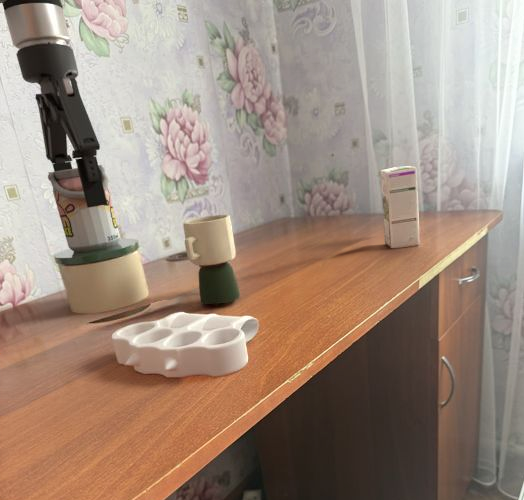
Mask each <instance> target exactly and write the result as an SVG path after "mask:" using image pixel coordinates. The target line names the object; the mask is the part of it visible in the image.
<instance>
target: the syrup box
mask: <svg viewBox="0 0 524 500" xmlns="http://www.w3.org/2000/svg"><path fill="white" fill-rule="evenodd" d="M380 178H381V179H380V181H381V182H380V183H381V198H382V199H381V200H382V215H383V217H382V218H383V232H384V244H385V245H387V246H388V247H389V248H390V249H401V248H408V247H415V246H419V245H420V217H419V192H418V168H417V167H416V166H410V165H404V166H403V165H402V166H394V167H390V168H386V169H381V170H380Z"/></svg>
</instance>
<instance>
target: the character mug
mask: <svg viewBox="0 0 524 500" xmlns="http://www.w3.org/2000/svg"><path fill="white" fill-rule="evenodd" d="M182 225H183V226H182V228H183V232H184V246H185V251H186V256H187V259H188V260H189V261H190V262H191V263H192V264H193V265H195V266H198V267H199V270H198V289H199V291H198V292H199V301H200V304H202V305H207V304H212V305H213V306H218V304H223V303H225V304H226V303H230V302H234V301H237V300H238V299H239V298H240V297H241V292H240V288H239V284H238V281H237V278H236V275H235V272H234V268H233V266H232V265H231V263H230V261H232V260H233V259H235V258H236V247H235V246H236V245H235V240H234V234H233V228H232V227H233V226H232V221H231V216H230V214H215V215H207V216H202V217H196V218H191V219H188V220H185V221H183V222H182Z"/></svg>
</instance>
